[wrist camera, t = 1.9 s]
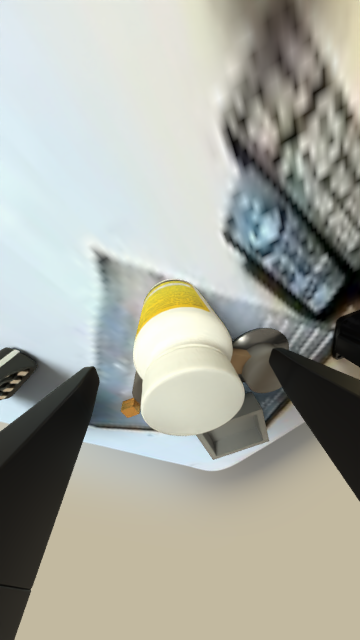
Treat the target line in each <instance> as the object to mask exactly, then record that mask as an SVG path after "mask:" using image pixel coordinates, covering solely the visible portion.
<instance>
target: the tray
mask: <svg viewBox="0 0 360 640" xmlns="http://www.w3.org/2000/svg"><path fill="white" fill-rule="evenodd" d="M196 436H197V437H198V439H199V440H200V441H201V443H202V444H203V446H204V447H205V449H206V450H207V452H208V453H209V455H210V456H211V457H212V459H213V460H214V459H217V458H220V457H223V456H226V455H229V454H232V453H235V452H238V451H241V450H244V449H247V448H250V447H253V446H256V445H259V444H262V443H265V442H268V441H269V438H268V434H267V429H266V425H265V420H264V415H263V411H262V408H261V406H260V405H259V403H258V401H257V400H256V398H255V397H254V395H253V393H252V392H250V393H247V394H245V398H244V402H243V404H242V407H241V408H240V410H239V411H238V412H237V414H236V415H235V416H234V417H233V418H232V419H230V420H229V421H228V422H226V423H225V424H223V425H222V426H220V427H218V428H216V429H213V430H211V431H208V432H205V433H202V434H197V435H196Z"/></svg>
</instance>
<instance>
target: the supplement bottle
mask: <svg viewBox="0 0 360 640" xmlns="http://www.w3.org/2000/svg"><path fill="white" fill-rule="evenodd" d="M232 353H233V345H232V340H231V337H230V334H229V332H228V330H227V329H226V327H225V325H224V324H223V322H222V321H221V320H220V319H219V317H218V316H217V315H216V313H215V312H214V311H213V310H212V308H211V307H210V306H209V304H208V303H207V302H206V300H205V299H204V298H203V296H202V295H201V294H200V292H199V291H198V290H197V289H196V288H195V287H194V286H193V285H192V284H190V283H189V282H187V281H184V280H180V279H168V280H164V281H162V282H159V283H158V284H156V285H155V286H154V287H153V288H152V289H151V290H150V291H149V293H148V294H147V296H146V298H145V301H144V304H143V308H142V313H141V317H140V321H139V325H138V329H137V334H136V338H135V342H134V349H133V360H134V365H135V368H136V370H137V372H138V374H139V376H140V377H141V378H142V379H143V383H142V397H141V413H142V416H143V419H144V420H145V422H146V423H147V424H148V425H149V426H150V427H151V428H153V429H155V430H157V431H159V432H161V433H164V434H168V435H175V436H189V435H197V434H202V433H205V432H208V431H211V430H213V429H216V428H218V427H220V426H222V425H223V424H225V423H226V422H228V421H229V420H230V419H232V418H233V417H234V416H235V415H236V414H237V412H238V411H239V410H240V408H241V407H242V404H243V402H244V398H245V390H244V386H243V383H242V382H241V380H240V378H239V376H238V374H237V372H236V371H235V369H234V367H233V365H232V364H231V362H230V361H231V358H232Z"/></svg>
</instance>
